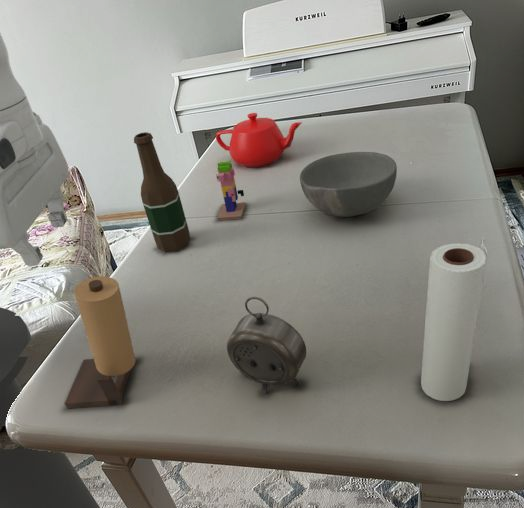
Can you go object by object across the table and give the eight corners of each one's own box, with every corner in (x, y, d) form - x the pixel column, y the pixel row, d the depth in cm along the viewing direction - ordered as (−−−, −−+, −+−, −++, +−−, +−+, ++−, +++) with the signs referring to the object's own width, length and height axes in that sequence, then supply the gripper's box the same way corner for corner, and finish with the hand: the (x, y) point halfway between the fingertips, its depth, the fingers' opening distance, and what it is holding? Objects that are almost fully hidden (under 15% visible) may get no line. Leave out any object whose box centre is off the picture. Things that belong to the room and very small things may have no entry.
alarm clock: (311, 378, 77) (300, 290, 67) (298, 404, 74) (284, 315, 63) (246, 365, 82) (226, 280, 71) (231, 389, 78) (208, 303, 68)
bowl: (414, 200, 114) (416, 155, 107) (361, 243, 104) (360, 196, 97) (339, 183, 125) (336, 142, 119) (285, 221, 115) (279, 178, 109)
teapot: (211, 172, 143) (201, 127, 135) (229, 149, 153) (221, 106, 145) (298, 170, 135) (293, 122, 127) (312, 146, 145) (308, 101, 138)
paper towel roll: (429, 406, 70) (441, 274, 56) (414, 375, 75) (423, 246, 61) (481, 396, 70) (507, 262, 56) (464, 366, 75) (484, 235, 61)
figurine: (223, 206, 126) (212, 157, 118) (245, 204, 125) (236, 155, 117) (217, 220, 121) (206, 170, 113) (241, 218, 119) (231, 168, 112)
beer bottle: (169, 233, 119) (137, 127, 103) (198, 236, 116) (169, 127, 100) (150, 251, 114) (114, 142, 99) (179, 255, 111) (146, 143, 95)
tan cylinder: (131, 387, 78) (91, 386, 79) (141, 353, 84) (105, 352, 84) (109, 300, 68) (64, 299, 68) (123, 268, 73) (81, 267, 73)
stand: (67, 408, 81) (52, 383, 77) (86, 364, 88) (73, 339, 84) (122, 404, 79) (109, 379, 76) (136, 360, 87) (126, 335, 83)
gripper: (9, 107, 66) (53, 207, 75) (-76, 174, 50) (-8, 290, 59) (55, 100, 65) (94, 203, 74) (-16, 166, 50) (44, 285, 59)
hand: (48, 242), depth 67 cm, fingers open, 8 cm apart
